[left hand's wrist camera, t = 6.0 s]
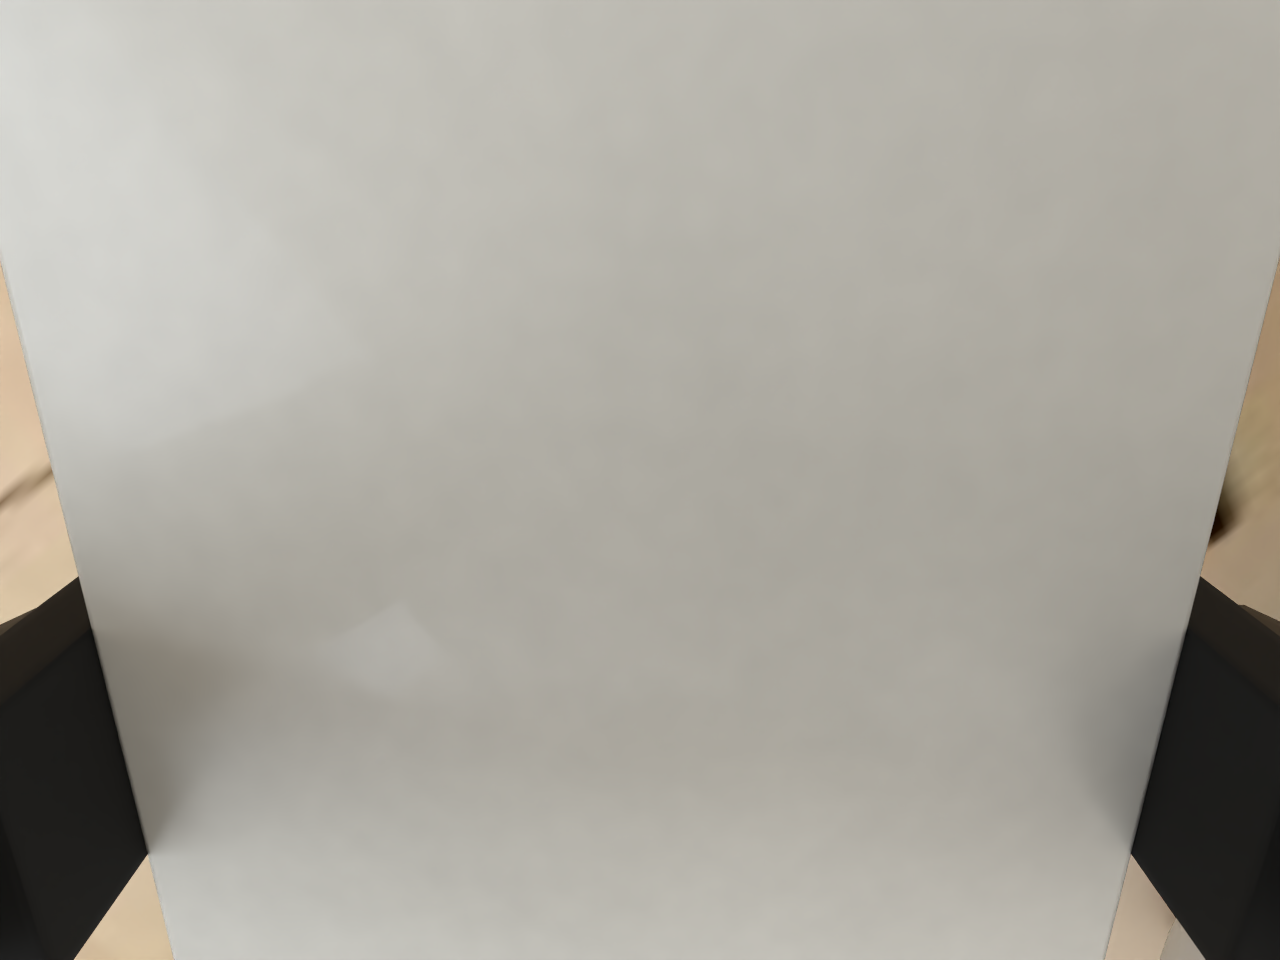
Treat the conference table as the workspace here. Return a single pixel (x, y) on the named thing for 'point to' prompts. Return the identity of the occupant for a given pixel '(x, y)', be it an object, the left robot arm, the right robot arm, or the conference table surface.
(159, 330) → the cabinet
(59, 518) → the conference table surface
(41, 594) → the conference table surface
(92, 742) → the left robot arm
